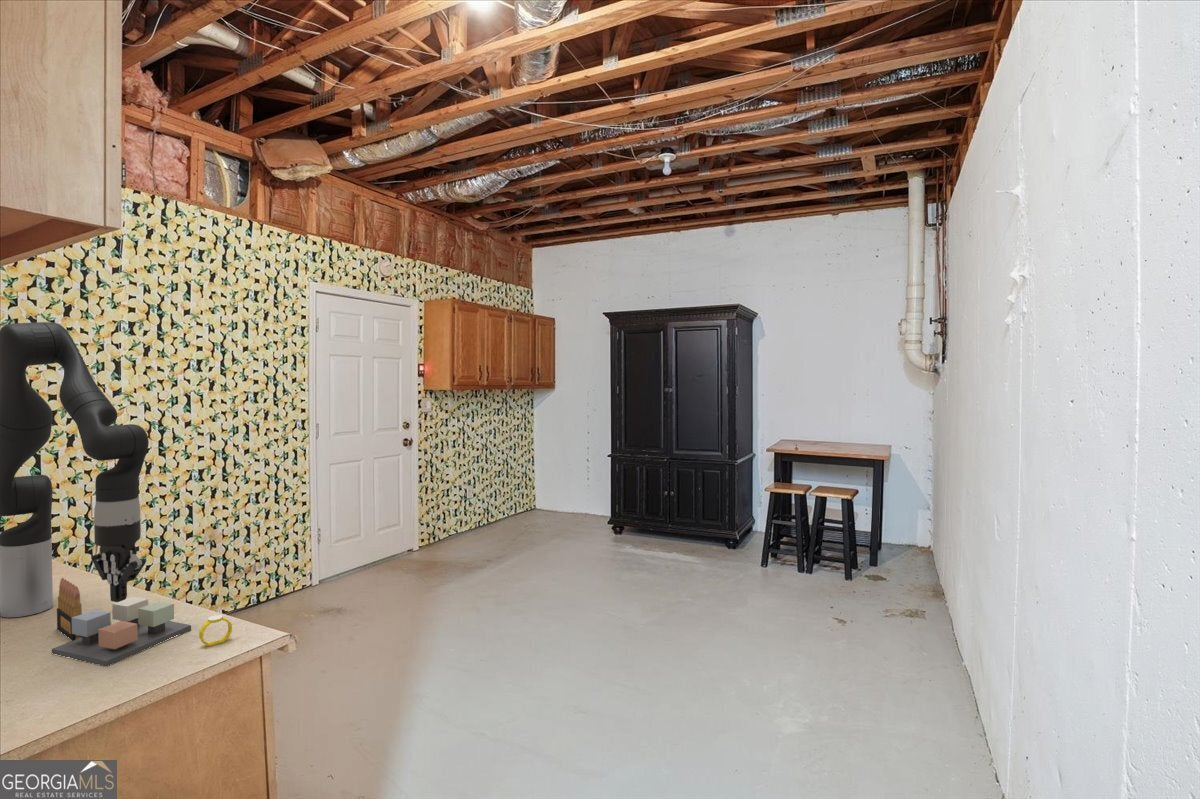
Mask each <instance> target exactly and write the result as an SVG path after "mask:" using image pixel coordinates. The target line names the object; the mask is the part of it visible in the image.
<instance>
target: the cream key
mask: <svg viewBox="0 0 1200 799" xmlns="http://www.w3.org/2000/svg"><path fill="white" fill-rule="evenodd" d="M111 605H112V606H111V607H112V611H111V612H112V615H111V616H112V617H111V618H112V620H114V621H115V620H116V621H119V622H120V621H125V622H128V621H131V620H134V619H136V618H138V608H141V607H144V606H147V605H149V599H148V598H143V597H138V596H131V597H128V598H126V599H125V600H123V601H120V602H113V603H112V604H111Z"/></svg>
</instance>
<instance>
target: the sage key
mask: <svg viewBox="0 0 1200 799" xmlns="http://www.w3.org/2000/svg"><path fill="white" fill-rule="evenodd" d="M174 619H175V604H174V603H172V602H165V601H161V600H159V601H155V602H153V603H150V604H149V603H148V605H147V606H144V607H141V608H138V624H140V625H146V626H151V627H155V626H158V625H160V624H163V623H165V622H168V621H172V620H174Z"/></svg>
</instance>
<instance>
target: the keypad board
mask: <svg viewBox="0 0 1200 799" xmlns="http://www.w3.org/2000/svg"><path fill="white" fill-rule="evenodd" d="M128 622H131V623H136V624H137V631H138V640H136V641H134V642H131V643H129V644H126V645H124V646H121V647H119V648H117V649H111V648H106V647H101V646H99V633H96V634H94V635H91V636H88V637H85V636H82V638H79V639H76V640H74V641H71V640H70V641H68V642H66V643H63V644H61V645H57V646H55V647H53V648H51V654H52V653H53V654H57V655H61V656H60V657H62V656H65V657H64V658H66V657H70V658H73V659H72V660H75V659H77V660H76V661H79V660H81V661H80V662H83V661H86V662H85V663H88V662H90V663H89V664H92V663H94V664H93V665H96V664H100V665H99V666H101V665H103V666H102V667H105V666H107V667H109V666H111V665H110V664H112V665H113V663H114V664H116V663H118V661H119V662H121V661H123V660H125V659H124V658H126V659H127V657H128V658H130V657H132V656H131V655H133V656H134V654H135V655H137V654H139V653H138V652H140V651H142V650H144V649H146V650H148V649H147V648H149V647H151V646H153V647H155V646H154V645H156V644H158V643H160V642H163V641H165V640H167V639H169V638H171V637H174V636H176V635H179V634H181V635H183V634H182V633H184V632H186V633H188V632H191V631H192V625H191V624H186V623H183V622H176V621H172V620H170V621H168V622H165V623H163V624H160V625H158V626H155V627H151V626H146V625H140V624H138V618H136V619H134V620H131V621H128ZM187 631H188V632H187ZM184 634H185V633H184ZM179 636H180V635H179ZM174 638H175V637H174ZM167 641H168V640H167ZM165 642H166V641H165ZM163 643H164V642H163ZM160 644H161V643H160ZM158 645H159V644H158ZM156 646H157V645H156ZM151 648H152V647H151ZM149 649H150V648H149ZM144 651H145V650H144ZM142 652H143V651H142ZM136 653H137V654H136ZM140 653H141V652H140ZM53 654H52V655H53ZM57 655H56V656H57ZM129 656H130V657H129ZM70 658H69V659H70ZM122 659H123V660H122ZM120 660H121V661H120ZM108 665H109V666H108Z"/></svg>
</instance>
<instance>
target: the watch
mask: <svg viewBox="0 0 1200 799" xmlns="http://www.w3.org/2000/svg"><path fill="white" fill-rule="evenodd" d="M222 621H224V622H225V623H227V626H228V627H227V628H228V629H227V631H226V634H225V635H224V636H223V637H222V638H221V639H217V640H214V641H211V642H208V641H205V639H204V632H205V630H206V629H207V627H208V626H210V624H216V623H219V622H222ZM232 632H233V626H232V623H231V621H230V620H229V619H228V618H226V617H225V616H223V615H222V614H215V615H212V616H209V617H208V618H207V621H206V622H204V624H202V626H201V627H200V629H199V634H198V636H199V640H200V642H201V643H203V645H205V646H207V647H212V646H215V645H218V644H221V643H226V641H227V640H228V639H229V638H230V637H231V634H232Z"/></svg>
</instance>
